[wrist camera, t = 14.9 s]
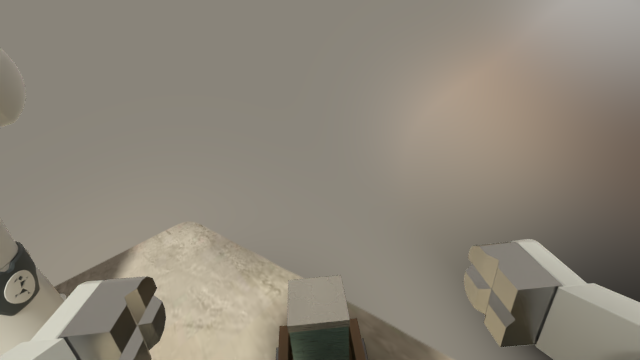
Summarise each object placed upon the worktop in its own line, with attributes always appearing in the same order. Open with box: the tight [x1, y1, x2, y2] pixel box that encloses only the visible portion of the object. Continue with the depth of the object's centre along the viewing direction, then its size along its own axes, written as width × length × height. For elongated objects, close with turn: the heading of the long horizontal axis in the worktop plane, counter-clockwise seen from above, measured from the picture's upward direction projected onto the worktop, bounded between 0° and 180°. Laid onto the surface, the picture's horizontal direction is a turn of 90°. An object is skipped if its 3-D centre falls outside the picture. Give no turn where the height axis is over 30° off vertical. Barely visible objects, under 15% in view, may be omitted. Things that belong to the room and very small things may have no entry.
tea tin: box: [287, 275, 350, 360], centre depth 30 cm, size 5×5×12 cm
